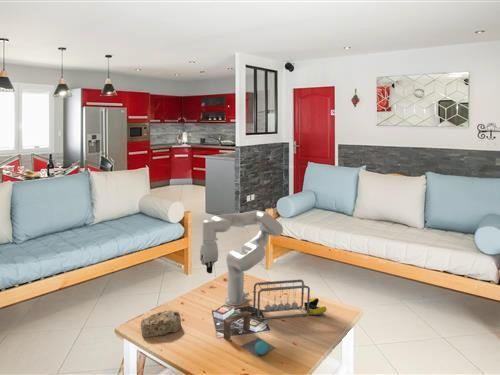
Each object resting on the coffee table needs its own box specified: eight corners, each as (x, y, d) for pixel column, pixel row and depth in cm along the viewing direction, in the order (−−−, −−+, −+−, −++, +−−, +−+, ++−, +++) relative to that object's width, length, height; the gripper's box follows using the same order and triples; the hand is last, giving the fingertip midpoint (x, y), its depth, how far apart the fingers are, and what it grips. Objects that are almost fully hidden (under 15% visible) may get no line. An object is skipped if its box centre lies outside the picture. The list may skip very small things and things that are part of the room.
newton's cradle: (302, 307, 242) (303, 278, 239) (309, 315, 232) (310, 285, 229) (253, 312, 235) (253, 282, 233) (257, 320, 225) (258, 290, 222)
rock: (143, 342, 203) (140, 322, 203) (141, 334, 217) (138, 316, 217) (184, 331, 210) (181, 311, 210) (179, 324, 224) (176, 306, 224)
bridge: (223, 337, 207) (223, 319, 205) (246, 328, 217) (246, 310, 215) (227, 340, 205) (227, 322, 203) (249, 330, 214) (250, 313, 213)
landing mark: (258, 337, 207) (258, 337, 207) (275, 347, 198) (275, 347, 198) (240, 346, 199) (240, 345, 199) (257, 356, 190) (257, 356, 190)
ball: (260, 346, 198) (262, 336, 196) (268, 354, 194) (271, 344, 192) (251, 351, 194) (253, 341, 192) (259, 359, 190) (261, 349, 188)
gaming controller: (317, 305, 246) (301, 306, 243) (317, 296, 245) (301, 297, 243) (327, 316, 231) (311, 318, 229) (328, 307, 231) (311, 309, 228)
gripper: (216, 237, 239) (215, 267, 242) (194, 242, 229) (194, 273, 232) (224, 240, 234) (223, 271, 237) (202, 245, 224) (202, 277, 227)
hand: (209, 272), depth 234 cm, fingers closed
